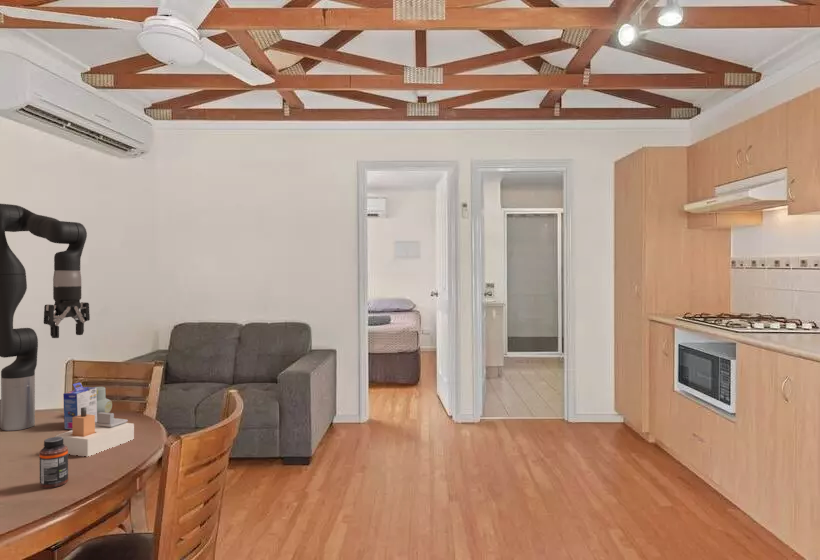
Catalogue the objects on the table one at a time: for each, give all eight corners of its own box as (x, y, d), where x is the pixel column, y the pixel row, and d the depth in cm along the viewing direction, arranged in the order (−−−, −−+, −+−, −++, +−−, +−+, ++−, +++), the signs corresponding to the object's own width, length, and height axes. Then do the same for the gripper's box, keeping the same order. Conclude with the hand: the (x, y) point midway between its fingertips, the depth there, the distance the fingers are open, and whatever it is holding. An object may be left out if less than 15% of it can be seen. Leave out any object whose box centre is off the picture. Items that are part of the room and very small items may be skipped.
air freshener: (102, 419, 194) (102, 391, 194) (77, 419, 193) (77, 391, 193) (114, 411, 205) (114, 384, 205) (90, 412, 204) (90, 385, 203)
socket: (55, 452, 158) (55, 435, 158) (103, 435, 174) (103, 420, 174) (87, 457, 154) (87, 439, 154) (133, 439, 171) (133, 423, 171)
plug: (72, 447, 159) (72, 408, 159) (83, 443, 162) (83, 405, 162) (83, 449, 158) (83, 410, 157) (94, 445, 161) (94, 407, 161)
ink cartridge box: (83, 421, 191) (83, 380, 191) (98, 421, 190) (98, 380, 190) (62, 429, 181) (62, 386, 181) (78, 430, 180) (78, 386, 180)
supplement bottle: (48, 480, 137) (48, 435, 137) (73, 479, 138) (73, 435, 138) (34, 489, 131) (34, 442, 131) (60, 488, 132) (60, 442, 132)
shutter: (93, 425, 167) (93, 413, 167) (110, 419, 173) (110, 408, 173) (111, 426, 165) (111, 415, 165) (127, 421, 171) (127, 410, 171)
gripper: (77, 284, 179) (77, 333, 179) (37, 285, 165) (37, 338, 166) (95, 284, 177) (95, 334, 177) (56, 285, 163) (56, 339, 163)
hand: (67, 336), depth 171 cm, fingers open, 8 cm apart
